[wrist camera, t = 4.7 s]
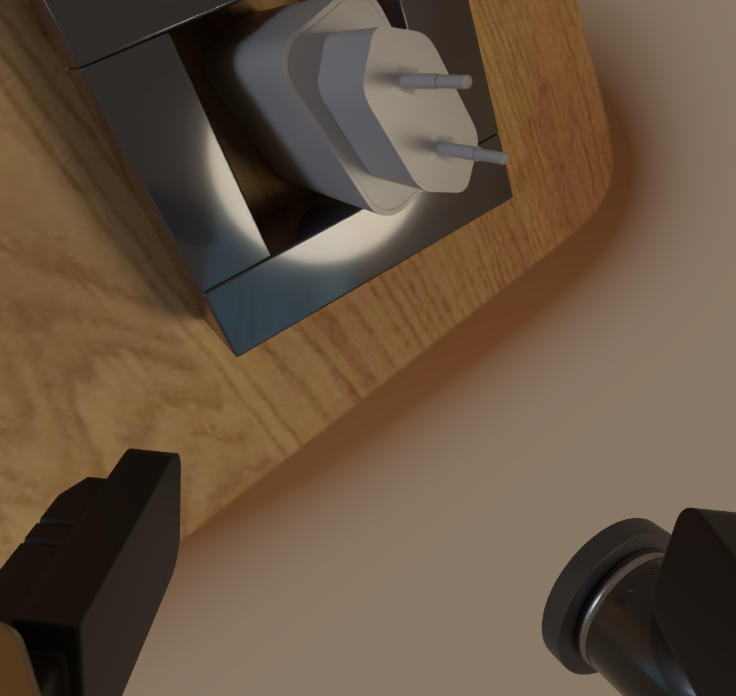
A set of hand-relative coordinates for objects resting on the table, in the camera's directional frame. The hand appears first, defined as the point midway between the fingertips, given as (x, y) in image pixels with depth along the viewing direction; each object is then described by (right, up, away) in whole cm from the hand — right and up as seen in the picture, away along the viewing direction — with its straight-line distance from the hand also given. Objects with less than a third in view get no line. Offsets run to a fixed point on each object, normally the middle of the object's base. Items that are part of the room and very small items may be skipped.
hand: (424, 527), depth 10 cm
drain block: (-4, +12, +13) cm, 17 cm away
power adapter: (-4, +12, +13) cm, 18 cm away
